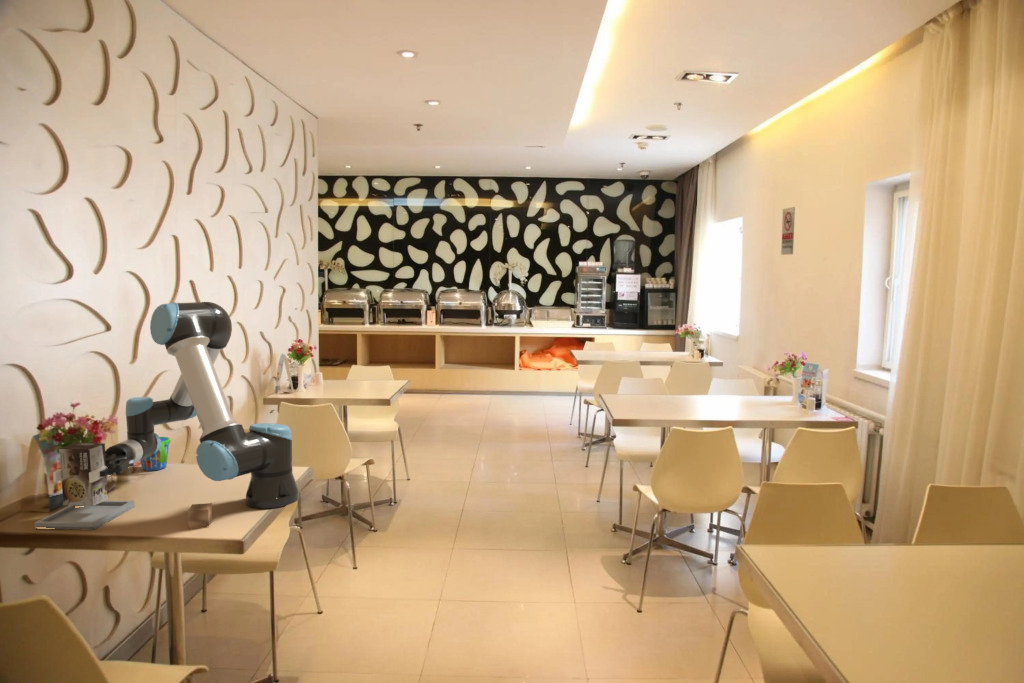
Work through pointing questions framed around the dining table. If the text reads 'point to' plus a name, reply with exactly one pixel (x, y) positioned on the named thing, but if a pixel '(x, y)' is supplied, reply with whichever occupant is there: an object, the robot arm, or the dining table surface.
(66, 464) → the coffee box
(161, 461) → the snack cup
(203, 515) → the walnut block
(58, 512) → the tray
